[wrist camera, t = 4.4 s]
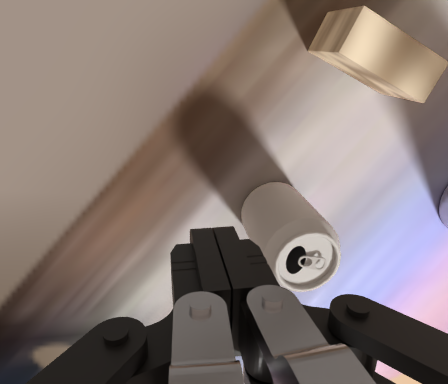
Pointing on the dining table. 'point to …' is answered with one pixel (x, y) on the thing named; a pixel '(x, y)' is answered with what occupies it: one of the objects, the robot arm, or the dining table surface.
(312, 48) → the block
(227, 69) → the dining table surface
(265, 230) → the can
